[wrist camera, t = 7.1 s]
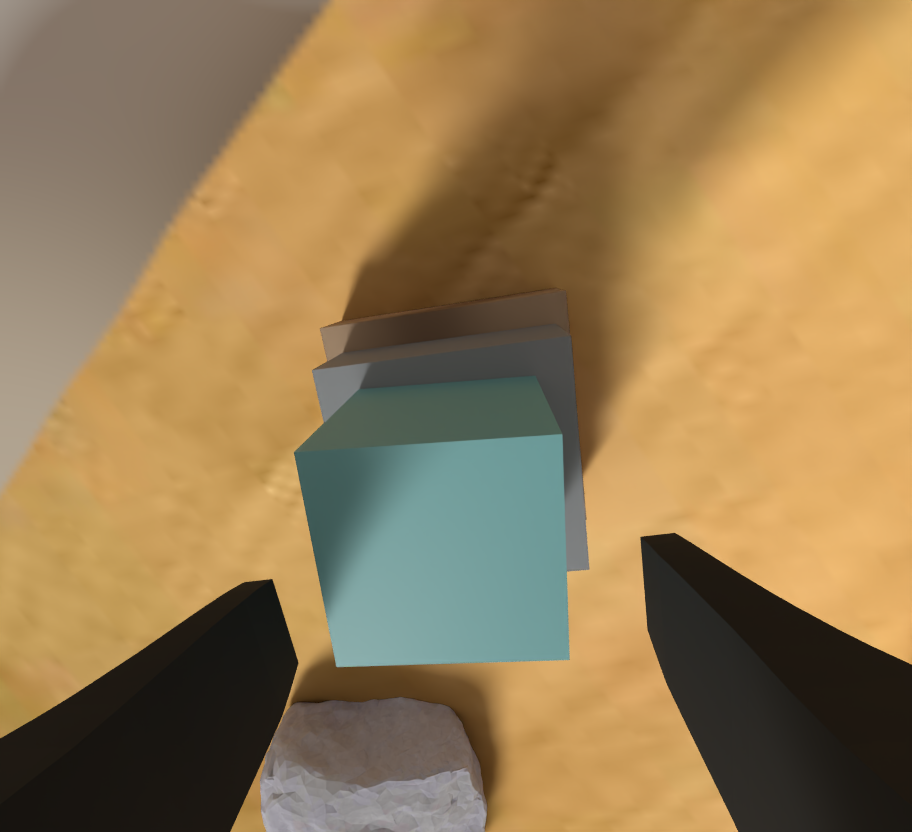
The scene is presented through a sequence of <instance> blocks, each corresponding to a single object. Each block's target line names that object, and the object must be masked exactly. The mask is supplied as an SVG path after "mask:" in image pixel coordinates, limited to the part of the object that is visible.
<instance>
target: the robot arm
mask: <svg viewBox="0 0 912 832" xmlns="http://www.w3.org/2000/svg"><path fill="white" fill-rule="evenodd" d="M641 550H642V563H643V576H644V589H645V602H646V615H647V628H648V632H649V635H650V638H651V641H652V644H653V647H654V650H655V653H656V655H657V658H658V661H659V664H660V667H661V669H662V672H663V675H664V678H665V680H666V683H667V685H668V687H669V690H670V692H671V694H672V696H673V698H674V700H675V702H676V704H677V706H678V708H679V710H680V712H681V715H682V717H683V719H684V721H685V723H686V725H687V727H688V729H689V731H690V733H691V735H692V737H693V739H694V741H695V743H696V745H697V747H698V749H699V752H700V754H701V756H702V758H703V760H704V762H705V764H706V766H707V768H708V770H709V772H710V774H711V776H712V778H713V780H714V782H715V784H716V786H717V788H718V790H719V792H720V794H721V797H722V799H723V801H724V803H725V805H726V807H727V809H728V811H729V813H730V815H731V817H732V819H733V821H734V823H735V825H736V828H737V830H738V832H912V665H911V664H909V663H907V662H905V661H903V660H900V659H898V658H896V657H894V656H892V655H890V654H887V653H885V652H883V651H881V650H879V649H877V648H874V647H872V646H870V645H868V644H866V643H864V642H862V641H860V640H858V639H856V638H854V637H852V636H850V635H848V634H846V633H844V632H842V631H840V630H838V629H836V628H835V627H833V626H831V625H829V624H827V623H825V622H823V621H822V620H820V619H818V618H816V617H814V616H812V615H810V614H809V613H807V612H805V611H803V610H801V609H799V608H797V607H796V606H794V605H792V604H790V603H789V602H787V601H785V600H783V599H782V598H780V597H778V596H776V595H775V594H773V593H771V592H770V591H768V590H766V589H764V588H763V587H761V586H759V585H758V584H756V583H754V582H753V581H751V580H749V579H748V578H746V577H745V576H743V575H741V574H740V573H738V572H736V571H735V570H733V569H732V568H730V567H728V566H727V565H725V564H724V563H722V562H721V561H719V560H717V559H716V558H714V557H713V556H711V555H709V554H708V553H706V552H705V551H703V550H702V549H700V548H699V547H697V546H695V545H694V544H692V543H691V542H689V541H687V540H686V539H684V538H683V537H681V536H679V535H677V534H676V533H670V534H661V535H653V536H644V537H641ZM297 666H298V660H297V657H296V653H295V650H294V647H293V644H292V640H291V637H290V634H289V631H288V628H287V624H286V621H285V618H284V615H283V612H282V608H281V605H280V602H279V599H278V596H277V592H276V589H275V586H274V583H273V580H272V579H269V580H261V581H252V582H244V583H242V584H240V585H238V586H237V587H235V588H233V589H231V590H230V591H228V592H226V593H225V594H223V595H222V596H220V597H219V598H217V599H216V600H214V601H212V602H211V603H209V604H208V605H207V606H205V607H204V608H202V609H201V610H199V611H198V612H196V613H195V614H193V615H192V616H190V617H189V618H188V619H186V620H185V621H183V622H182V623H180V624H179V625H177V626H176V627H174V628H173V629H172V630H170V631H169V632H167V633H166V634H164V635H163V636H161V637H160V638H159V639H157V640H156V641H154V642H153V643H151V644H150V645H148V646H147V647H146V648H144V649H143V650H141V651H140V652H138V653H137V654H135V655H134V656H132V657H131V658H129V659H128V660H126V661H125V662H123V663H122V664H120V665H119V666H117V667H115V668H114V669H112V670H111V671H109V672H108V673H106V674H105V675H103V676H102V677H100V678H99V679H97V680H96V681H94V682H93V683H91V684H90V685H88V686H86V687H85V688H83V689H82V690H80V691H79V692H77V693H76V694H74V695H73V696H71V697H69V698H68V699H66V700H65V701H63V702H61V703H60V704H58V705H57V706H55V707H53V708H52V709H50V710H48V711H47V712H45V713H43V714H42V715H40V716H38V717H37V718H35V719H33V720H32V721H30V722H28V723H26V724H25V725H23V726H21V727H20V728H18V729H16V730H14V731H13V732H11V733H9V734H7V735H6V736H4V737H2V738H0V832H230V831H231V829H232V827H233V824H234V822H235V820H236V818H237V816H238V813H239V811H240V809H241V807H242V805H243V802H244V800H245V798H246V796H247V794H248V791H249V789H250V787H251V785H252V783H253V780H254V778H255V776H256V774H257V772H258V769H259V767H260V765H261V763H262V761H263V758H264V756H265V754H266V752H267V749H268V747H269V745H270V743H271V740H272V738H273V736H274V734H275V731H276V729H277V727H278V724H279V722H280V720H281V717H282V715H283V712H284V709H285V706H286V703H287V700H288V697H289V694H290V690H291V687H292V683H293V680H294V677H295V673H296V670H297Z"/></svg>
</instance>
